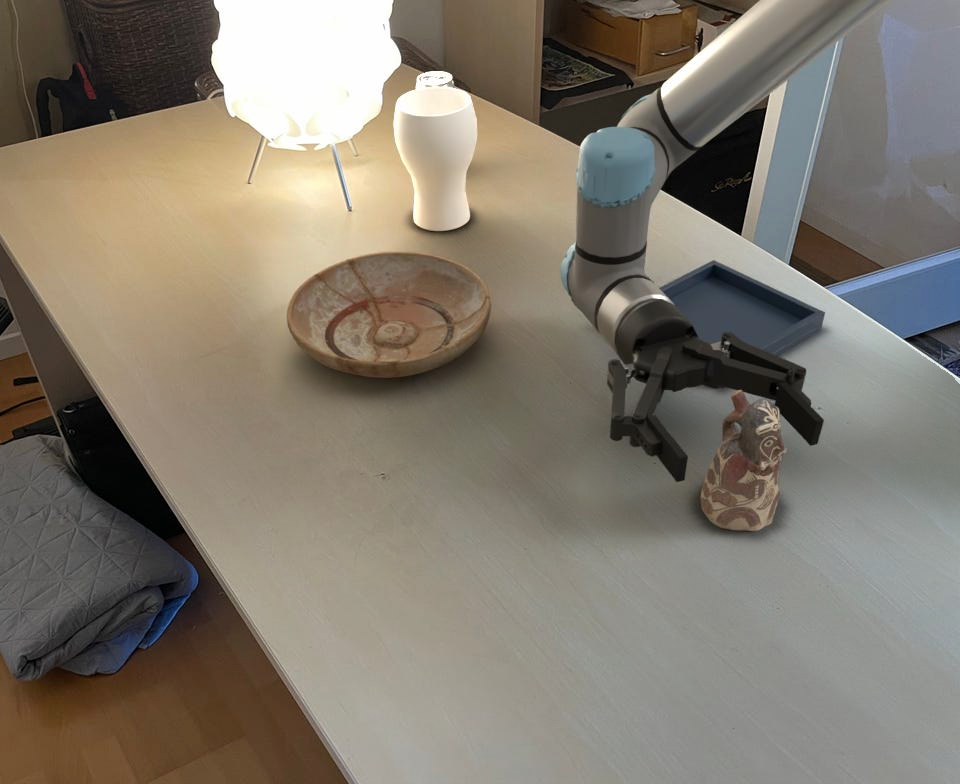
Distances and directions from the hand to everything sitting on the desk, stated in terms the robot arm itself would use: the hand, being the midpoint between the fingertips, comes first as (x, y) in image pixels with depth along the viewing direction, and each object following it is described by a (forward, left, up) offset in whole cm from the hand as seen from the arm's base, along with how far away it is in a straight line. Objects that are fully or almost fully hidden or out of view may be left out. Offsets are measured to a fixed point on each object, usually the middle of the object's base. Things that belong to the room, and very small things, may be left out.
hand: (751, 451), depth 89 cm
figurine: (0, 0, -7) cm, 7 cm away
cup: (+66, -16, -7) cm, 69 cm away
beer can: (+79, -26, -7) cm, 84 cm away
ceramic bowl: (+46, +7, -7) cm, 47 cm away
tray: (+22, -22, -7) cm, 32 cm away
